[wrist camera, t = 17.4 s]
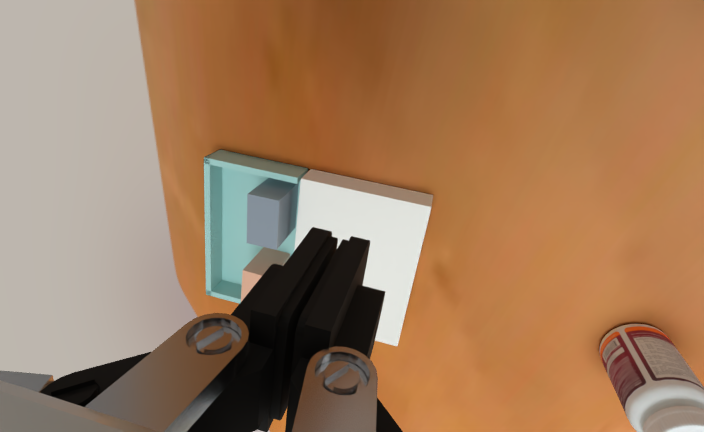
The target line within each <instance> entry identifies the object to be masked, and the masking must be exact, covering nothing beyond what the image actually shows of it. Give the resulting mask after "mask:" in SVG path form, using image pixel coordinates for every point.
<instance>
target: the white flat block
mask: <svg viewBox="0 0 704 432" xmlns="http://www.w3.org/2000/svg"><path fill="white" fill-rule="evenodd" d="M432 200H433V195H430V194H426V193H421V192H416V191H412V190H407V189H402V188H398V187H393V186H388V185H384V184H379V183H374V182H370V181H365V180H360V179H356V178H351V177H346V176H342V175H337V174H332V173H328V172H323V171H318V170H314V169H311V170H309V171H308V172H307V173H306V174H305V175H304V176H303V177H302V178H301V182H300V193H299V204H298V215H297V226H296V237H295V248H294V251H295V250H296V248H297V247H298V246H299V244H300V243H301V242H302V240H303V239H304V238H305V236H306V235H307V234H308V232H309V231H310V230H311V228H312V227H315V228H319V229H324V230H328V231H332V237H336V238H338V244H337V248H338V247H339V245H340V243H341V241H342V240H343V239H344V240H348V241H349V239H350V237H351V236H353V237H358V238H362V239H366V240H370V247H369V253H368V258H367V264H366V269H365V275H364V280H363V286H366V287H370V288H374V289H378V290H382V291H385V297H384V302H383V306H382V311H381V316H380V320H379V325H378V329H377V333H376V337H375V341H379V342H383V343H386V344H390V345H394V346H398V342H399V338H400V333H401V329H402V325H403V321H404V317H405V313H406V309H407V305H408V301H409V297H410V293H411V289H412V284H413V280H414V276H415V272H416V268H417V264H418V260H419V256H420V252H421V248H422V244H423V240H424V236H425V231H426V227H427V223H428V219H429V215H430V211H431V207H432Z"/></svg>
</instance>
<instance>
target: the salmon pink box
mask: <svg viewBox="0 0 704 432" xmlns="http://www.w3.org/2000/svg"><path fill="white" fill-rule="evenodd" d="M289 258H290V253H286V252H282V251H279V250H274V249H270V248H266V247H263V248H262V249H261V250H260V252H259V253H258V254H257V255H256V256H255V257H254V258H253V259H252V260H251V261H250V263H249V264H248V265H247V266H246V267H245V268H244V269H243V273H242V289H241V302H242V300H243V299H244V298H245V297H246V295H247V294H248V293H249V292H250V290H251V289H252V288H253V287H254V285H255V284H256V283H257V282H258V280H259V279H260V278H261V277H262V275H263V274H264V273H265V272H266V270H267V269H268V268H269V267H270V266H271V265H272V264H279V265H283V266H284V264H285V263H286V262H287V260H288V259H289Z"/></svg>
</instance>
